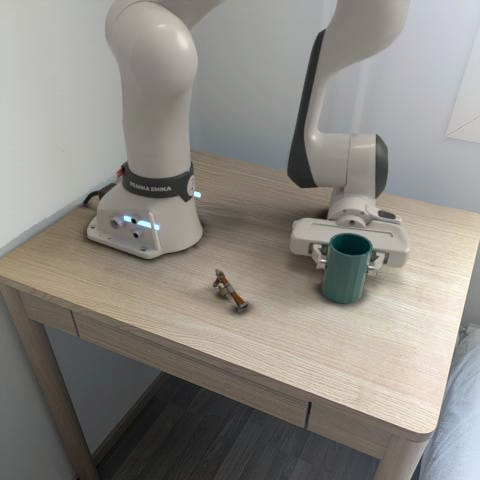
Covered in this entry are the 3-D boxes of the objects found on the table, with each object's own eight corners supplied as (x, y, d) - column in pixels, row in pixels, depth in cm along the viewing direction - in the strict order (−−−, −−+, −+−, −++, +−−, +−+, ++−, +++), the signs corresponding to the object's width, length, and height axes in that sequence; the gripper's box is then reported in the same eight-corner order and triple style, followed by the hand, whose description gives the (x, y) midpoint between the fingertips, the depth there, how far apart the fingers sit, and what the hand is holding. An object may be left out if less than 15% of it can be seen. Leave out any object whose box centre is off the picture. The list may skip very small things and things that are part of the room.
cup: (318, 299, 83) (326, 252, 76) (325, 275, 88) (333, 229, 81) (359, 307, 81) (370, 260, 75) (363, 283, 86) (374, 236, 80)
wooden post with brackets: (215, 279, 85) (221, 264, 81) (242, 315, 83) (250, 302, 79) (206, 283, 84) (212, 268, 80) (233, 319, 82) (241, 306, 78)
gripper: (295, 203, 90) (285, 244, 80) (410, 217, 87) (414, 261, 77) (292, 233, 94) (282, 275, 84) (402, 247, 91) (405, 293, 81)
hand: (346, 269), depth 80 cm, fingers closed on cup, 7 cm apart
